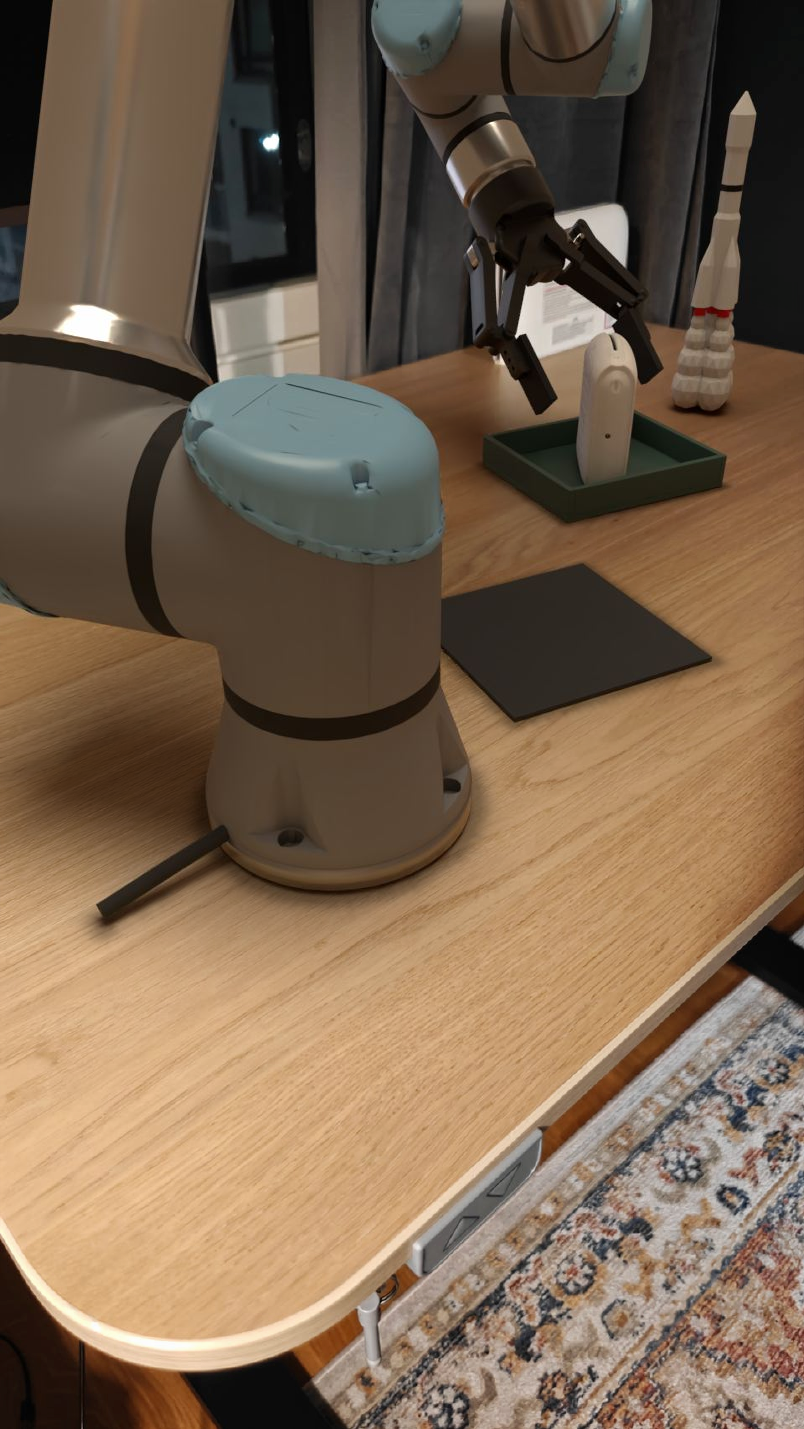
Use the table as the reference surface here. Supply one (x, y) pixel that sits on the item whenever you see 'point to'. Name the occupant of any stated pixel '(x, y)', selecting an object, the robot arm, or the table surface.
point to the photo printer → (606, 408)
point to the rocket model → (717, 283)
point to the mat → (558, 640)
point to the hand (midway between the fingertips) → (601, 392)
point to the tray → (553, 480)
